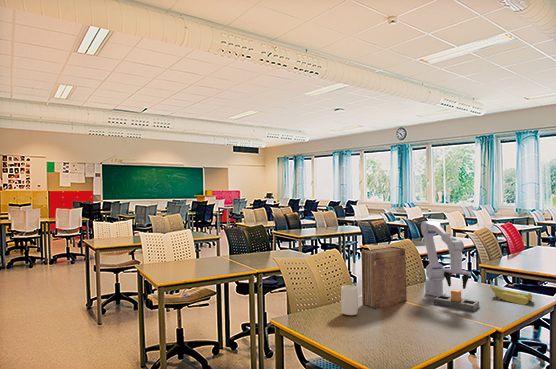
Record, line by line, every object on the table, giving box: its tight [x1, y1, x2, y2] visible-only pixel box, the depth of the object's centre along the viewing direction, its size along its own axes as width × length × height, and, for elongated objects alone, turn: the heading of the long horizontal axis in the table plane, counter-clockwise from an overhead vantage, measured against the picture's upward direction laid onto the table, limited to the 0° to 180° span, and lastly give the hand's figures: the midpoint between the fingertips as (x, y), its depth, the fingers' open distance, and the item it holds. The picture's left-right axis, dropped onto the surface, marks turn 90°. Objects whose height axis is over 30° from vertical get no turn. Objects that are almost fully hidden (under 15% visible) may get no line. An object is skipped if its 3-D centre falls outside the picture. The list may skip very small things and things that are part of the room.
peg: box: [450, 289, 462, 302], centre depth 198 cm, size 4×4×8 cm
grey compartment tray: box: [433, 294, 480, 313], centre depth 198 cm, size 20×10×3 cm, turn 45°
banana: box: [489, 284, 533, 306], centre depth 206 cm, size 20×7×10 cm
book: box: [360, 246, 408, 310], centre depth 205 cm, size 25×9×30 cm, turn 121°
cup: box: [340, 284, 359, 316], centre depth 187 cm, size 8×8×14 cm
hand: (456, 287), depth 200 cm, fingers open, 7 cm apart
